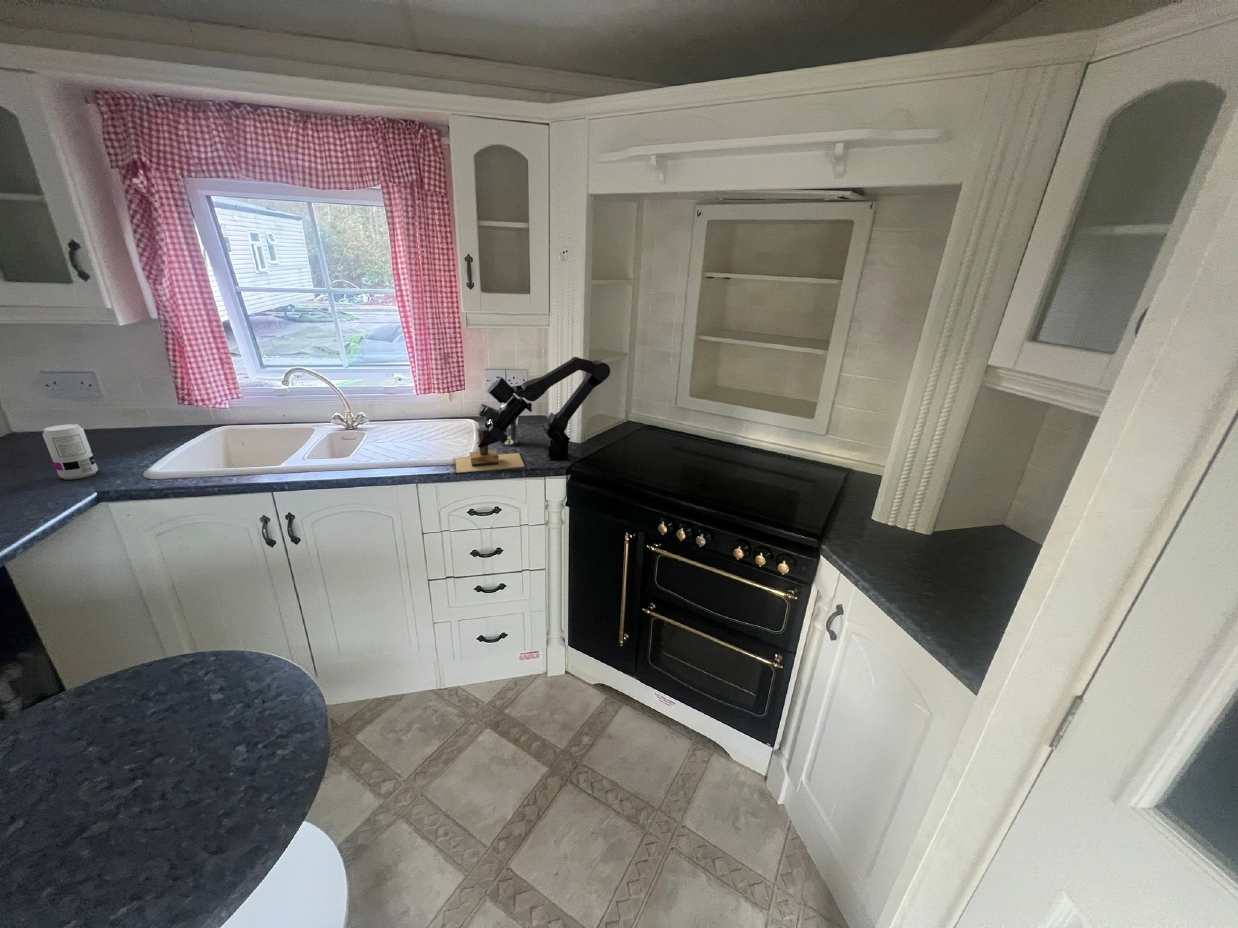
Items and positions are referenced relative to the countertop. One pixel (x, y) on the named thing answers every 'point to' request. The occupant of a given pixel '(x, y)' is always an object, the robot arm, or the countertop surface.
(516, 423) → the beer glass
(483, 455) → the wooden rubber stamp
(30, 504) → the countertop surface
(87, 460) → the supplement can
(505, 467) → the cork mat
